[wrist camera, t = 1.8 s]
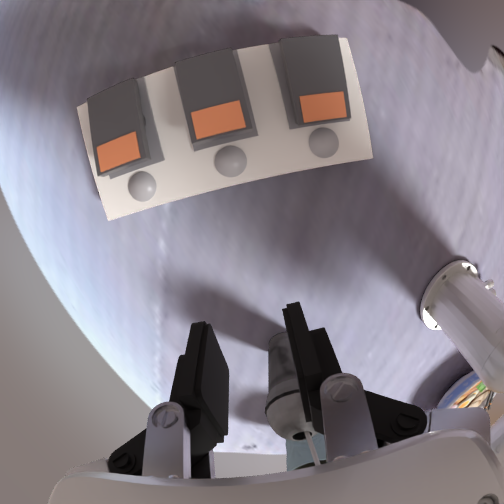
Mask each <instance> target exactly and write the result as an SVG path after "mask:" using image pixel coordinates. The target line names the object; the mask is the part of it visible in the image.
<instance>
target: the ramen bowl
mask: <svg viewBox="0 0 504 504" xmlns="http://www.w3.org/2000/svg"><path fill="white" fill-rule="evenodd" d="M495 395H496V392H493V391H491V390H489V389H488V388H487V387H486V386H485V385H484V383H483V382H482V381H481V379H480V378H479V377H478V375H477V374H476V373H475V371H472V372H470V373H469V374H467V375H465V376H463V377H462V378H460V379H459V380H457V381H456V382H455V383H454V384H453V385H452V386H451V387H450V389H449V390H448V391H447V392H446V393H445V395H444V396H443V398H442V399H441V400H440V402H439V404H438V405H437V408H436V409H448V408H468V407H481V408H484V407H485V408H484V410H486V409H487V406H488V403H489V406H488V410H489V409H490V407H491V403H492V400H493V397H494V396H495Z"/></svg>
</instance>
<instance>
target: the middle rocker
mask: <svg viewBox="0 0 504 504" xmlns="http://www.w3.org/2000/svg"><path fill="white" fill-rule="evenodd" d="M175 65H176V71H177V76H178V81H179V86H180V91H181V96H182V101H183V106H184V110H185V115H186V120H187V125H188V129H189V134H190V138H191V143H192V144H193V145H194V146H196V145H200V144H204V143H207V142H211V141H215V140H219V139H223V138H227V137H231V136H235V135H239V134H244V133H248V132H253V127H252V123H251V119H250V115H249V111H248V108H247V104H246V100H245V96H244V92H243V88H242V85H241V81H240V77H239V73H238V70H237V66H236V62H235V59H234V55H233V51H232V48H227V49H223V50H219V51H214V52H210V53H206V54H203V55H199V56H195V57H192V58H188V59H185V60H182V61H178V62H175Z"/></svg>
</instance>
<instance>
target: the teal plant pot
mask: <svg viewBox="0 0 504 504" xmlns="http://www.w3.org/2000/svg"><path fill="white" fill-rule="evenodd" d="M311 438H312V441H313V444H314V447H315V450H316V453H317V456H318V458H319V461H320V464H321V465H322V464H326V463H327V462H326V452H325V442H324V435H322V434H320V433H317V434H316V435H315V436H313V437H311ZM286 451H287V471H292V470H298V469H303V468H308V467H313V466H315V463H314V460H313V457H312V454H311V451H310V448H309V445H308V442H307V440H303V441H291V440H287V439H286Z"/></svg>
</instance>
